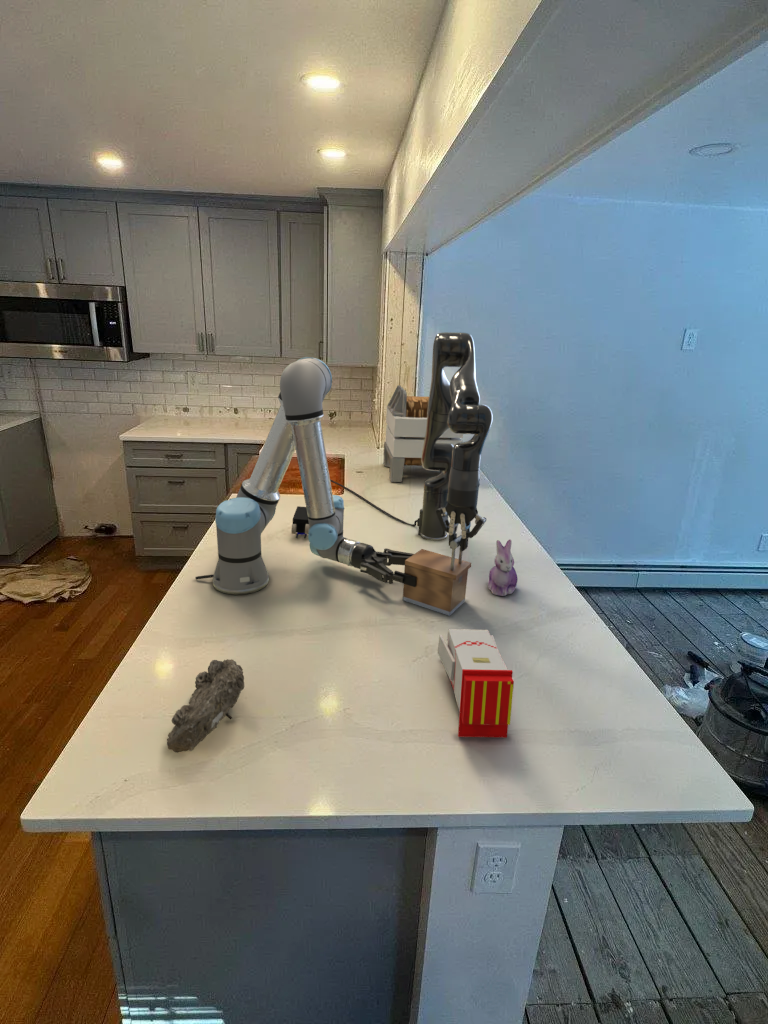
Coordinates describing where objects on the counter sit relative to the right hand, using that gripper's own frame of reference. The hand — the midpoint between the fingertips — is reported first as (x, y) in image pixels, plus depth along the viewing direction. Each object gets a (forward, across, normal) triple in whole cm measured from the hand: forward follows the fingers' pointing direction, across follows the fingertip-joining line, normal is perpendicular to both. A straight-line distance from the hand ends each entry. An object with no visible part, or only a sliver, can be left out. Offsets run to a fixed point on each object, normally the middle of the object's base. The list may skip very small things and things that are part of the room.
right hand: (457, 548), depth 147 cm
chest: (+17, -6, 0) cm, 18 cm away
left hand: (+10, -9, 0) cm, 13 cm away
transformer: (+17, -70, +110) cm, 132 cm away
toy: (+17, +18, -31) cm, 40 cm away
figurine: (+17, +7, +18) cm, 26 cm away
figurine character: (+17, -65, +16) cm, 69 cm away
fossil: (+17, -19, -66) cm, 71 cm away
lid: (+6, -5, 0) cm, 8 cm away
